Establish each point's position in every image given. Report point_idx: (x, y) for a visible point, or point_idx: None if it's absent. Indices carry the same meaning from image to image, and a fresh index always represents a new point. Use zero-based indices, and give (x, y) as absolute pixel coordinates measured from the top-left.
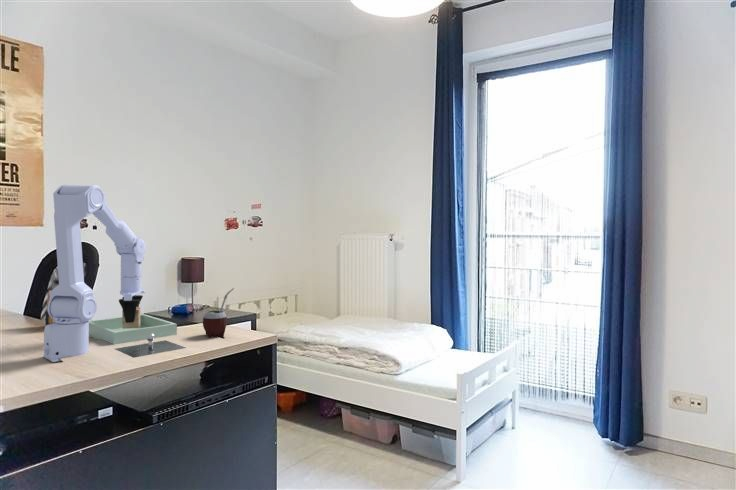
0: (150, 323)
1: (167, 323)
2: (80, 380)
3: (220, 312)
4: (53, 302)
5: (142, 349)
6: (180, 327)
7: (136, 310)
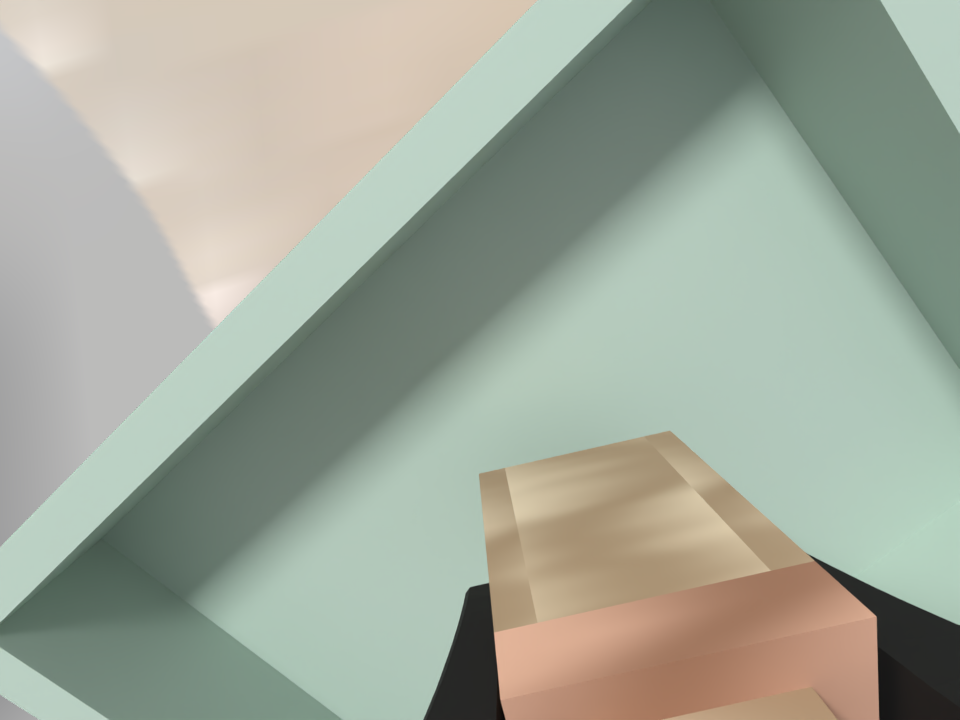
0: (215, 421)
1: (627, 5)
2: None
3: None
4: None
5: None
6: (51, 33)
7: (862, 641)
